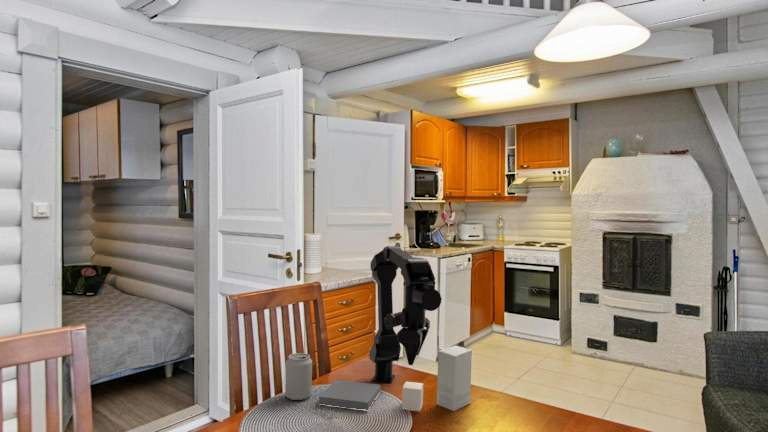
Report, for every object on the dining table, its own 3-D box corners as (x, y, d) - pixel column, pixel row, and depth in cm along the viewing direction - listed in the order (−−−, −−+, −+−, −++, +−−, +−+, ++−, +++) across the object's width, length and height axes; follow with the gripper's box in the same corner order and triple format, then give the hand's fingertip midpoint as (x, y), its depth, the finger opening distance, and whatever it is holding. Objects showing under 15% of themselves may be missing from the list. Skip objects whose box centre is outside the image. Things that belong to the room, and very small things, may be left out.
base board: (336, 387, 142) (336, 379, 142) (380, 393, 138) (380, 384, 138) (318, 405, 128) (319, 396, 128) (367, 411, 125) (367, 402, 125)
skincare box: (453, 397, 137) (454, 344, 137) (472, 404, 132) (473, 349, 132) (435, 405, 131) (436, 349, 131) (454, 412, 126) (455, 355, 126)
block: (405, 402, 132) (405, 381, 132) (422, 404, 131) (423, 383, 131) (401, 409, 127) (402, 387, 127) (419, 411, 126) (420, 389, 126)
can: (305, 403, 130) (306, 360, 130) (280, 400, 131) (281, 358, 131) (314, 393, 137) (316, 352, 137) (291, 391, 138) (292, 350, 138)
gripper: (394, 296, 140) (392, 348, 140) (378, 308, 122) (377, 367, 122) (430, 299, 138) (429, 351, 137) (420, 311, 119) (419, 371, 119)
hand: (413, 359), depth 129 cm, fingers open, 9 cm apart
